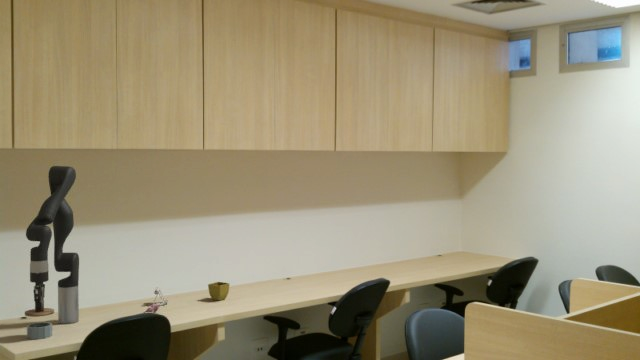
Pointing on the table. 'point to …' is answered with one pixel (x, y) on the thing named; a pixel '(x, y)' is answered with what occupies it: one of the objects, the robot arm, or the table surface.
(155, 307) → the video game controller
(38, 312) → the lid
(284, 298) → the table surface
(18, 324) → the table surface
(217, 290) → the flower pot
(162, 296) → the portable electronic device stand
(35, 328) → the bowl
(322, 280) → the table surface
